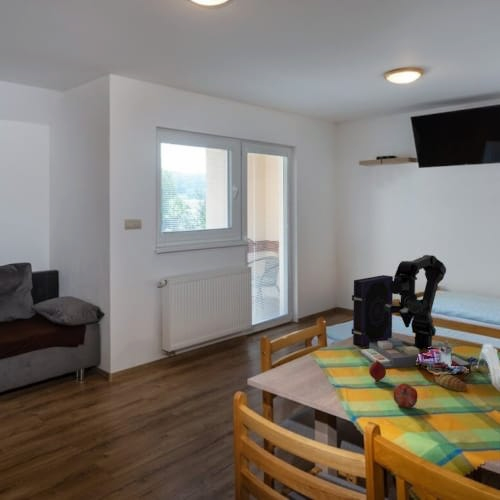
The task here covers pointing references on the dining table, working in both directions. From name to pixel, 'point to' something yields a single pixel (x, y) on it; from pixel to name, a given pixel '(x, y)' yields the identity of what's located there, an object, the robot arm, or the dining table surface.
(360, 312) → the book
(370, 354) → the keypad console
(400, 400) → the pomegranate
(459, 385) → the pastry
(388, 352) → the key terracotta
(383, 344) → the light grey key
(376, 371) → the onion
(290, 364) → the dining table surface
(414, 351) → the key sand
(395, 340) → the key slate
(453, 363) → the calculator
